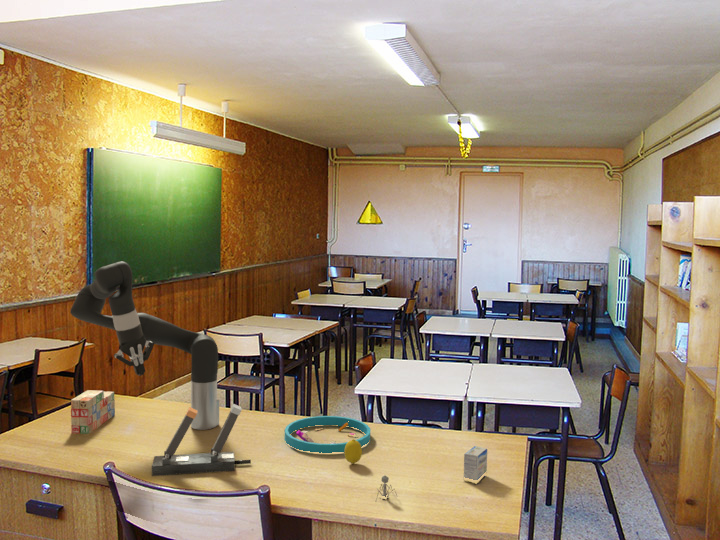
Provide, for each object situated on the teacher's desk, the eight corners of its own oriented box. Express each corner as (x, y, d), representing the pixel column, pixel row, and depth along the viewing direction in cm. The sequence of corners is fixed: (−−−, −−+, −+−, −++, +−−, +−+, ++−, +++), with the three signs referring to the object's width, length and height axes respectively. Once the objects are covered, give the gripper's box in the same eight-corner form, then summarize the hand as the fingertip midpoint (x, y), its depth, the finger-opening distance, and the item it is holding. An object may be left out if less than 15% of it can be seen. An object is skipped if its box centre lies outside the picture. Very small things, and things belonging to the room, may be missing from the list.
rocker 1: (161, 460, 188) (188, 410, 188) (162, 454, 192) (189, 406, 192) (169, 463, 188) (197, 414, 189) (170, 458, 192) (197, 410, 193)
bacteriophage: (365, 499, 174) (366, 476, 173) (383, 490, 180) (384, 467, 179) (385, 507, 169) (385, 483, 169) (403, 498, 175) (403, 474, 175)
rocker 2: (209, 457, 191) (233, 407, 191) (209, 452, 195) (233, 403, 195) (217, 460, 191) (241, 410, 192) (217, 455, 196) (241, 406, 196)
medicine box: (477, 485, 184) (478, 456, 184) (462, 481, 187) (464, 453, 186) (486, 476, 191) (487, 448, 190) (473, 472, 193) (474, 445, 193)
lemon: (363, 462, 200) (364, 437, 199) (358, 468, 195) (358, 443, 194) (347, 459, 202) (348, 435, 201) (341, 466, 196) (342, 441, 196)
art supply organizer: (266, 439, 219) (267, 423, 219) (328, 420, 241) (328, 405, 241) (326, 464, 199) (327, 445, 198) (388, 440, 221) (388, 424, 220)
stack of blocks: (99, 414, 241) (98, 383, 240) (115, 415, 241) (114, 383, 240) (71, 433, 220) (70, 399, 219) (88, 434, 220) (88, 400, 219)
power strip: (151, 476, 186) (151, 460, 185) (154, 465, 193) (154, 450, 193) (251, 469, 192) (251, 454, 192) (250, 459, 200) (250, 445, 199)
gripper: (110, 334, 190) (125, 386, 195) (152, 320, 198) (165, 369, 203) (102, 329, 196) (116, 379, 201) (143, 315, 204) (155, 363, 209)
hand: (141, 374), depth 202 cm, fingers closed
